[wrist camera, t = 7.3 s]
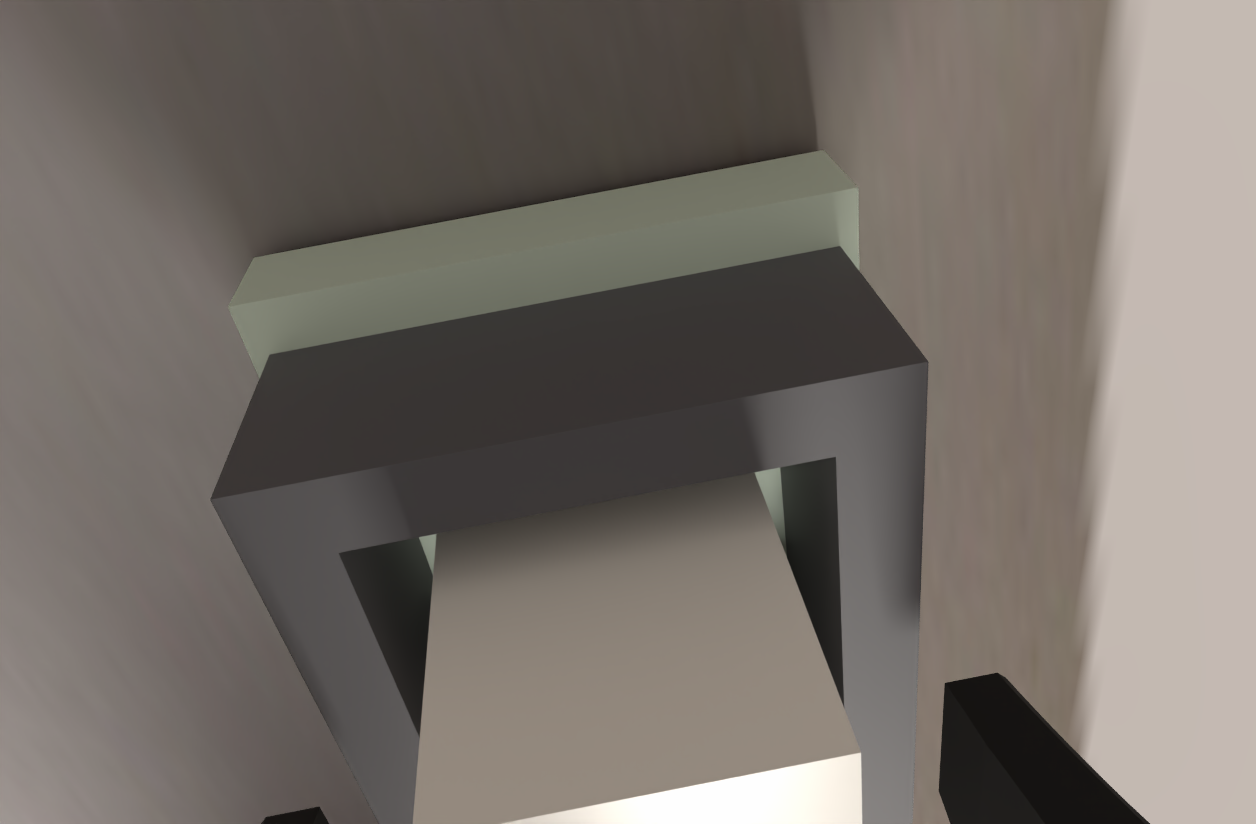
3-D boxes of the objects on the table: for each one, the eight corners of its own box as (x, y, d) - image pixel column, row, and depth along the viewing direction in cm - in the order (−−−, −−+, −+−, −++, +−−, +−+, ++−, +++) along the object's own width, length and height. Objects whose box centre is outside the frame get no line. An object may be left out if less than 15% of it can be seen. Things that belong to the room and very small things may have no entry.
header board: (849, 905, 24) (913, 1108, 20) (544, 966, 24) (552, 1181, 20) (823, 149, 13) (954, 292, 9) (253, 257, 13) (154, 445, 9)
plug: (750, 634, 16) (879, 1062, 11) (519, 679, 16) (531, 1133, 11) (723, 391, 13) (880, 802, 8) (443, 444, 13) (406, 897, 8)
